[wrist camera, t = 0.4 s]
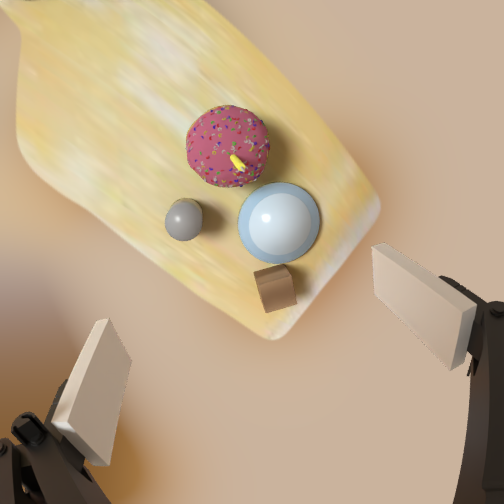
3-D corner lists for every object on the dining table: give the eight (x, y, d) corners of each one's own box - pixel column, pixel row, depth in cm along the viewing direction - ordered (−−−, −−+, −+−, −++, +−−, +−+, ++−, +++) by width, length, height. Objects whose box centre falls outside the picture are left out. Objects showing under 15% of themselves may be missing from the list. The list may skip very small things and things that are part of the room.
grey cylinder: (164, 203, 35) (160, 210, 31) (197, 193, 35) (196, 199, 31) (174, 234, 36) (171, 245, 32) (206, 225, 36) (206, 235, 33)
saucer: (228, 193, 35) (229, 195, 34) (308, 173, 36) (312, 174, 35) (248, 269, 39) (250, 273, 38) (322, 248, 40) (325, 251, 38)
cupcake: (271, 167, 35) (303, 178, 24) (204, 194, 35) (203, 217, 24) (246, 100, 32) (266, 78, 21) (176, 126, 32) (162, 116, 21)
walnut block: (253, 271, 39) (258, 285, 36) (283, 263, 40) (291, 275, 36) (260, 298, 41) (265, 313, 37) (288, 289, 41) (297, 303, 37)
